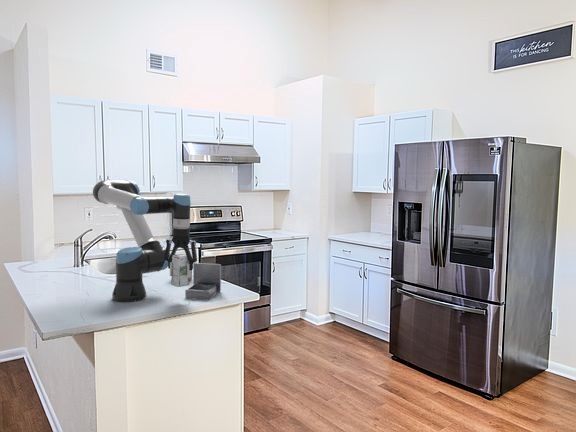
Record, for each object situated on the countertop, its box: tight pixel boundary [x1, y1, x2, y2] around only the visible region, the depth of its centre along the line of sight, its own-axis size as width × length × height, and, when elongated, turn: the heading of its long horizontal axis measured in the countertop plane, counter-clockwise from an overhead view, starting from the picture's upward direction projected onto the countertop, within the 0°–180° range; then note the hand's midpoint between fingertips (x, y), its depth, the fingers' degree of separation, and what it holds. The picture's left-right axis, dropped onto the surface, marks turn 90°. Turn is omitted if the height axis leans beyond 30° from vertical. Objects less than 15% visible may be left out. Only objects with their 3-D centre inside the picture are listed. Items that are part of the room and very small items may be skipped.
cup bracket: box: [184, 262, 222, 301], centre depth 224 cm, size 14×15×14 cm
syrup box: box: [170, 253, 190, 288], centre depth 212 cm, size 6×6×14 cm
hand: (180, 276), depth 212 cm, fingers closed on syrup box, 8 cm apart
